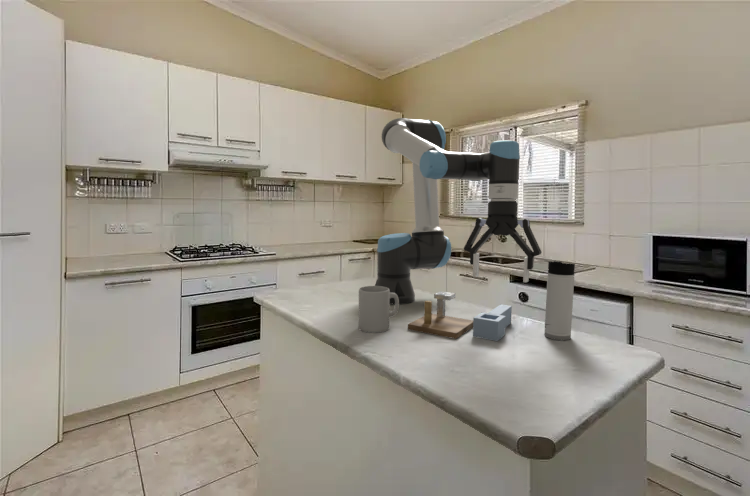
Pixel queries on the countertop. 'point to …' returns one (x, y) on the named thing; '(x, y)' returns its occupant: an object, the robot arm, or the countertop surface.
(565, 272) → the travel mug
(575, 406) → the countertop surface
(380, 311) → the mug
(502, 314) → the link
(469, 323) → the board
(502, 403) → the countertop surface
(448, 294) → the block
